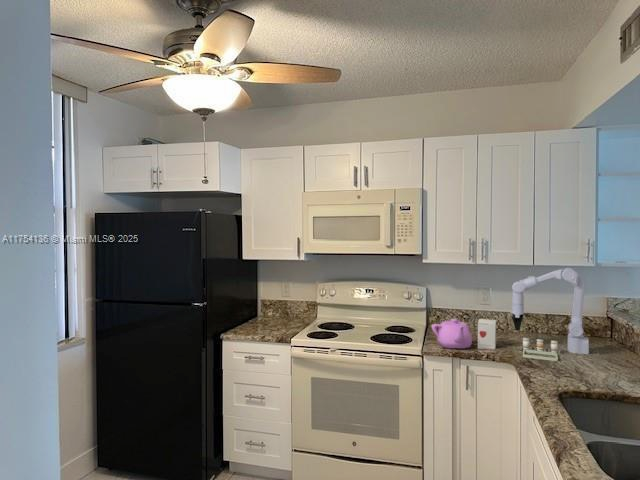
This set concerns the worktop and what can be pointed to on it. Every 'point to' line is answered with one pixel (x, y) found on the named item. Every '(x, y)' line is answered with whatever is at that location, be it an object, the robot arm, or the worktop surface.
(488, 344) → the supplement box
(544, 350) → the fuse holder
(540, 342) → the marked fuse
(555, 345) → the cylinder
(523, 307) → the robot arm
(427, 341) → the worktop surface
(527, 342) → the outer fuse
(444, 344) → the teapot
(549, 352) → the tray
